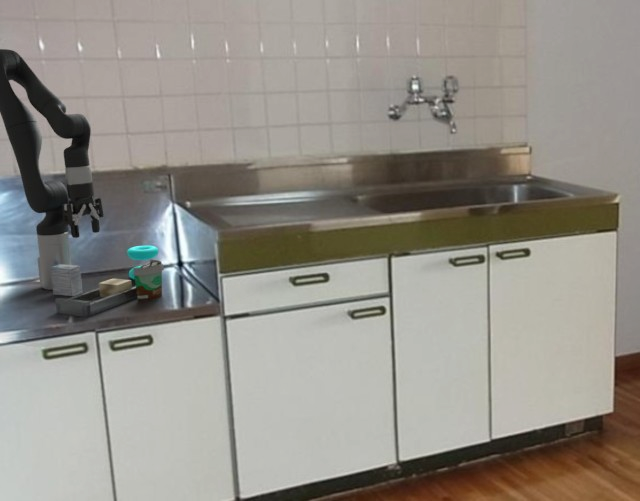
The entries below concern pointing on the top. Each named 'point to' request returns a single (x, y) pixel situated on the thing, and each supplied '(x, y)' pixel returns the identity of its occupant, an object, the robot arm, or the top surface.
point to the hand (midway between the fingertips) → (86, 234)
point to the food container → (149, 280)
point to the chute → (93, 302)
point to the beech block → (113, 286)
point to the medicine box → (66, 280)
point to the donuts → (141, 255)
